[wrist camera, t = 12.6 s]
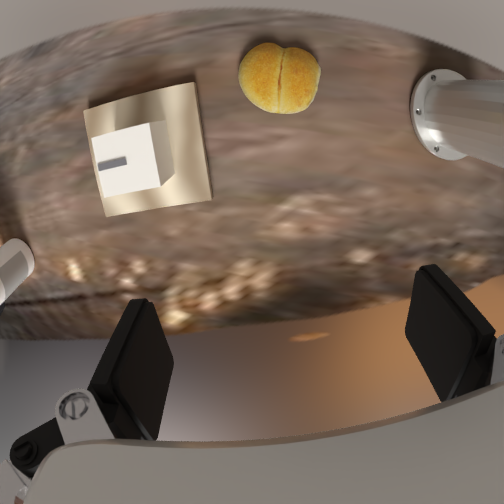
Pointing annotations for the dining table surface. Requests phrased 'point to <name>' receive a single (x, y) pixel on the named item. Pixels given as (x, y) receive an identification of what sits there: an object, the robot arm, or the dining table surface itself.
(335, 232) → the dining table surface
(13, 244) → the white plastic bottle
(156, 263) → the dining table surface
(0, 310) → the portable speaker
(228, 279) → the dining table surface
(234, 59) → the dining table surface
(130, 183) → the white slotted cube
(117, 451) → the robot arm
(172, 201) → the beige square plate
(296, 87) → the bread roll
